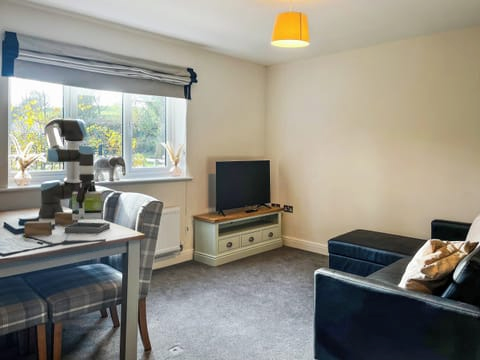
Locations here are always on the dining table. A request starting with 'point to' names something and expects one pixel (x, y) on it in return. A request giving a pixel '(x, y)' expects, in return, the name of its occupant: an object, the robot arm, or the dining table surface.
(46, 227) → the block
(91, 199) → the tea box
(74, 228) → the tray
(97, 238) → the dining table surface
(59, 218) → the block
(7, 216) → the dining table surface
